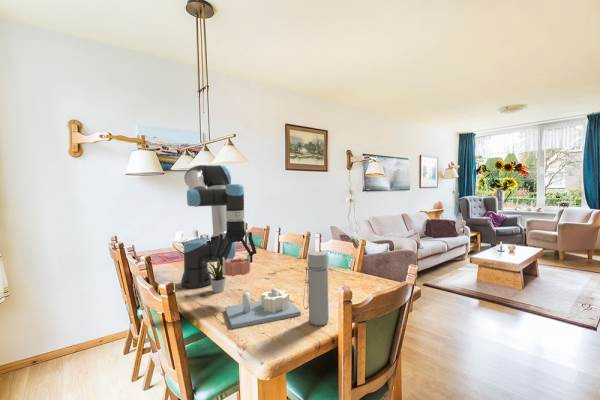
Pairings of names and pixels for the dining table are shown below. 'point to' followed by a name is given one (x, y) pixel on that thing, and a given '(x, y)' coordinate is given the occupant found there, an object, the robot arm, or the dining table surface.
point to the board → (262, 309)
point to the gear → (236, 266)
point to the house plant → (217, 278)
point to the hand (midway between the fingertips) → (236, 271)
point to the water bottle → (317, 288)
